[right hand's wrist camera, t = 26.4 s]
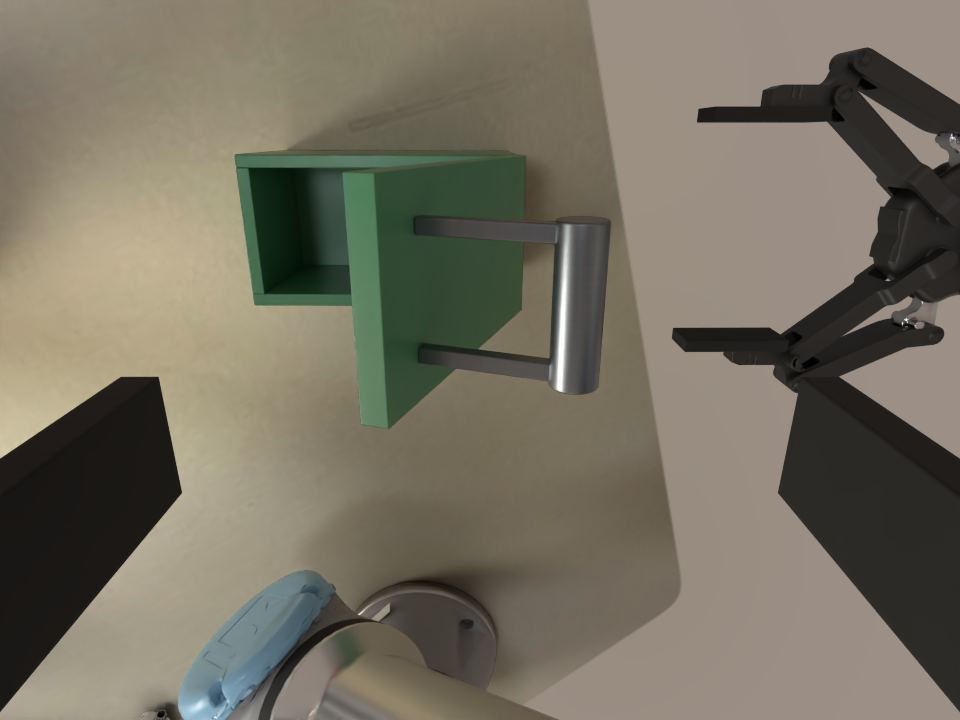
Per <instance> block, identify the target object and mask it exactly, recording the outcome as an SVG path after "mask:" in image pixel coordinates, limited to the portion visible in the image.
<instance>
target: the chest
mask: <svg viewBox="0 0 960 720" xmlns="http://www.w3.org/2000/svg"><path fill="white" fill-rule="evenodd" d="M506 155H513V154H512V153H510V152H509V151H428V150H281V151H269V152H258V153H246V154H236V155H235V162H236V167H237V168H236V171H237V178H238V186H239V193H240V201H241V208H242V216H243V223H244V231H245V238H246V246H247V253H248V261H249V268H250V276H251V283H252V291H253V299H254V305H317V306H352V295H351V281H350V268H349V254H348V241H347V227H346V214H345V201H344V187H343V174H342V173H343V172H346V171H356V170H366V169H376V168H386V167H396V166H406V165H416V164H426V163H436V162H446V161H456V160H466V159H476V158H486V157H496V156H506ZM513 156H515V155H513Z"/></svg>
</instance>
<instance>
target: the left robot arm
mask: <svg viewBox="0 0 960 720" xmlns="http://www.w3.org/2000/svg"><path fill="white" fill-rule="evenodd" d="M829 70H830V71H829V73H828V75H827V77H826V79H825V80H824V81H823V82H822V83H821V84H819V85H779V86H773V87H770V88H768V89H765V90H763V93H762V100H761V106H760V107H709V108H702V109H699V110H698V119H697V122H826V121H827V122H828V123H829V124H830V125H831V126H832V127H833V129H834V130H835V131H836V132H837V133H838V134H839V135H840V136H841V137H842V138H843V140H844V141H845V142H846V143H847V144H848V145H849V146H850V147H851V148H852V150H853V151H854V152H855V153H856V154H857V155H858V156H859V157H860V158H861V159H862V161H863V162H864V163H865V164H866V165H867V166H868V167H869V168H870V169H871V170H872V172H873V173H874V174H875V175H876V176H877V178H876V180H877V182H878V183H879V184H880V185H881V187H882V188H883V189H884V190H885V191H886V192H887V193H888V194H889V195H890V197H891V198H890V199H889V200H888V202H887V203H886V205H885V207H880V210H879V215H878V233H877V235H876V237H875V239H874V241H873V243H872V246H871V251H870V255H869V256H871V257H873V260H874V264H872V265H871V266H870V267H868V268H867V269H865V270H864V271H863V272H861V273H860V274H858V275H857V276H856V277H855V278H854V282H853V283H852V284H851V285H850V286H848V287H847V288H845V289H844V290H843V291H841V292H840V293H838V294H837V295H836V296H834V297H833V298H831V299H830V300H829V301H827V302H826V303H824V304H823V305H822V306H820V307H819V308H817V309H816V310H814V311H813V312H812V313H810V314H809V315H807V316H806V317H805V318H803V319H802V320H801V321H799V322H798V323H796V324H795V325H793V326H792V327H791V328H789V329H788V330H786V331H785V332H783V333H782V334H781V335H780V334H779V333H777V332H775V331H774V330H772V329H771V328H673V334H672V339H673V340H674V341H675V342H676V343H677V344H678V345H679V346H680V347H681V348H682V349H683V350H684V351H685V352H724V353H723V355H724V356H725V357H726V358H727V359H729V360H730V361H731V362H733V363H735V364H738V365H774V366H775V368H774V371H773V375H774V376H775V377H776V378H777V379H778V380H779V381H780V382H782V383H783V384H784V385H785V386H787V387H788V388H789V389H791V390H792V391H793V392H795V393H798V392H799V387H800V382H801V377H839V376H841V375H843V374H846V373H848V372H850V371H853V370H855V369H858V368H860V367H862V366H865V365H867V364H869V363H872V362H874V361H876V360H879V359H881V358H883V357H886V356H888V355H890V354H893V353H895V352H898V351H900V350H902V349H905V348H907V347H917V346H926V345H934V344H937V343H939V342H940V341H941V340H942V339H943V337H944V331H943V329H942V328H940V327H938V326H936V325H934V324H935V317H936V311H937V304H938V302H939V301H942V300H944V299H946V298H948V297H951V296H954V295H960V104H958V103H956V102H955V101H953V100H952V99H950V98H949V97H947V96H945V95H944V94H942V93H941V92H939V91H938V90H936V89H934V88H933V87H931V86H930V85H928V84H926V83H925V82H923V81H922V80H920V79H919V78H917V77H915V76H914V75H912V74H911V73H909V72H908V71H906V70H904V69H903V68H901V67H900V66H898V65H897V64H895V63H893V62H892V61H890V60H889V59H887V58H886V57H884V56H882V55H881V54H879V53H878V52H876V51H874V50H873V49H871V48H862V49H858V50H853V51H849V52H845V53H840V54H837V55H836V56H834V57H833V58H832V59H831V61H830V64H829ZM858 91H859V92H861V93H863V94H864V95H866V96H868V97H869V98H871V99H872V100H874V101H876V102H877V103H879V104H881V105H882V106H884V107H885V108H887V109H889V110H890V111H892V112H894V113H895V114H897V115H898V116H900V117H902V118H903V119H905V120H907V121H908V122H910V123H912V124H913V125H915V126H916V127H918V128H920V129H922V130H924V131H926V132H929V133H933V134H938V135H937V136H936V138H935V141H936V143H939V145H940V147H941V148H943V149H945V150H947V151H948V153H949V161H948V162H946V163H943V164H941V165H939V166H938V167H936V168H935V169H933V170H932V169H931V168H930V167H928V166H927V165H924V164H922V163H921V162H920V161H919V160H918V159H917V158H916V157H915V156H914V155H913V153H912V152H911V151H910V150H909V149H908V148H907V147H906V145H905V144H904V143H903V142H902V141H901V140H900V138H899V137H898V136H897V135H896V134H895V133H894V132H893V130H892V129H891V128H890V127H889V126H888V125H887V124H886V122H885V121H884V120H883V119H882V118H881V117H880V116H879V114H878V113H877V112H876V111H875V110H874V109H873V108H872V106H871V105H870V104H869V103H868V102H867V101H866V100H865V98H864V97H863V96H862V95H861V94H860V93H859V92H858ZM886 279H889V280H891V281H885V280H886ZM908 296H909V297H911V298H913V300H912V303H911V304H910V306H909V307H907V308H906V309H903V310H901V311H895V312H893V313H892V315H891V319H885V320H881V321H878V322H875V323H872V324H870V325H868V326H865V327H863V328H861V329H858V330H856V331H854V332H851V333H849V334H847V335H845V336H843V335H844V334H846V333H847V332H849V331H850V330H852V329H853V328H854V327H856V326H857V325H859V324H860V323H862V322H863V321H865V320H866V319H867V318H869V317H870V316H872V315H873V314H875V313H876V312H878V311H879V310H880V309H882V308H883V307H885V306H887V305H894V304H897V303H899V302H900V301H902V300H903V299H905V298H906V297H908ZM841 336H842V337H841ZM335 591H336V589H335V587H334V585H333V584H328V583H327V582H326V580H325V579H324V578H323V577H322V576H321V575H320V574H319V573H317V572H314V571H310V570H304V571H298V572H295V573H292V574H290V575H287V576H285V577H283V578H281V579H280V580H278V581H276V582H275V583H273V584H271V585H270V586H269V587H267V588H266V589H264V590H263V591H261V592H260V593H259V594H257V595H256V596H255V597H254V598H252V599H251V600H250V601H249V602H248V603H246V604H245V605H244V606H243V607H242V608H241V609H240V610H239V611H237V612H236V613H235V614H234V615H233V616H232V617H231V618H230V619H229V620H228V621H227V622H226V623H225V624H224V625H223V626H222V627H221V628H220V629H219V631H218V632H217V633H216V634H215V635H214V636H213V637H212V638H211V640H210V641H209V642H208V643H207V645H206V646H205V647H204V648H203V650H202V651H201V652H200V654H199V655H198V656H197V658H196V659H195V661H194V663H193V665H192V666H191V667H190V669H189V670H188V672H187V674H186V676H185V678H184V680H183V683H182V685H181V688H180V691H179V696H178V708H179V712H180V714H181V716H182V717H183V719H184V720H558V719H556V718H553V717H550V716H548V715H545V714H543V713H540V712H538V711H535V710H533V709H530V708H528V707H525V706H523V705H520V704H518V703H515V702H513V701H510V700H507V699H505V698H502V697H500V696H497V695H495V694H492V693H490V692H487V691H486V689H487V687H488V684H489V681H490V678H491V676H492V673H493V670H494V666H495V660H496V634H495V629H494V626H493V623H492V621H491V619H490V617H489V615H488V614H487V612H486V611H485V610H484V609H483V608H482V606H481V605H480V604H479V603H477V602H476V601H475V600H474V599H473V598H471V597H470V596H468V595H467V594H465V593H463V592H461V591H459V590H457V589H455V588H452V587H450V586H446V585H443V584H438V583H432V582H407V583H401V584H397V585H393V586H390V587H387V588H385V589H382V590H380V591H378V592H377V593H375V594H373V595H372V596H370V597H369V598H368V599H366V600H365V601H364V602H363V603H362V604H361V605H360V607H359V608H358V609H357V610H356V612H353V611H352V610H351V609H350V608H349V607H348V606H347V605H346V604H345V603H344V602H343V601H342V600H341V599H340V597H339V596H338V595H337V594H336V592H335Z"/></svg>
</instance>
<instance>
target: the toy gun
mask: <svg viewBox="0 0 960 720" xmlns="http://www.w3.org/2000/svg"><path fill="white" fill-rule="evenodd" d="M139 720H170V719H169V718H168V717H167V713H166V711H165V710H162V709H161V710H159V711H158V712H154V711H148V712H144V713H143V714H142V715H141V717H140V718H139Z"/></svg>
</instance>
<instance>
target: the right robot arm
mask: <svg viewBox="0 0 960 720" xmlns="http://www.w3.org/2000/svg"><path fill="white" fill-rule="evenodd" d="M181 493H182V490H181V485H180V480H179V476H178V471H177V466H176V461H175V456H174V451H173V446H172V441H171V436H170V431H169V426H168V421H167V416H166V411H165V407H164V402H163V397H162V392H161V387H160V382H159V377H120V378H119V379H117V380H116V381H114V382H113V383H111V384H110V385H108V386H107V387H105V388H104V389H102V390H101V391H99V392H98V393H96V394H95V395H94V396H92V397H91V398H89V399H88V400H86V401H85V402H83V403H82V404H80V405H79V406H77V407H76V408H74V409H73V410H71V411H70V412H68V413H67V414H65V415H64V416H63V417H61V418H60V419H58V420H57V421H55V422H54V423H52V424H51V425H49V426H48V427H46V428H45V429H43V430H42V431H40V432H39V433H37V434H36V435H34V436H33V437H32V438H30V439H29V440H27V441H26V442H24V443H23V444H21V445H20V446H18V447H17V448H15V449H14V450H12V451H11V452H9V453H8V454H6V455H5V456H3V457H2V458H1V459H0V712H1V710H2V709H3V708H4V707H5V706H6V704H7V703H8V702H9V701H10V700H11V698H12V697H13V696H14V695H15V694H16V692H17V691H18V690H19V689H20V688H21V686H22V685H23V684H24V683H25V681H26V680H27V679H28V678H29V677H30V675H31V674H32V673H33V672H34V671H35V669H36V668H37V667H38V666H39V665H40V663H41V662H42V661H43V660H44V659H45V657H46V656H47V655H48V654H49V653H50V651H51V650H52V649H53V648H54V647H55V645H56V644H57V643H58V642H59V641H60V639H61V638H62V637H63V636H64V634H65V633H66V632H67V631H68V630H69V628H70V627H71V626H72V625H73V624H74V622H75V621H76V620H77V619H78V618H79V616H80V615H81V614H82V613H83V612H84V610H85V609H86V608H87V607H88V606H89V604H90V603H91V602H92V601H93V600H94V598H95V597H96V596H97V595H98V594H99V592H100V591H101V590H102V589H103V587H104V586H105V585H106V584H107V583H108V581H109V580H110V579H111V578H112V577H113V575H114V574H115V573H116V572H117V571H118V569H119V568H120V567H121V566H122V565H123V563H124V562H125V561H126V560H127V559H128V557H129V556H130V555H131V554H132V553H133V551H134V550H135V549H136V548H137V547H138V545H139V544H140V543H141V542H142V540H143V539H144V538H145V537H146V536H147V534H148V533H149V532H150V531H151V530H152V528H153V527H154V526H155V525H156V524H157V522H158V521H159V520H160V519H161V518H162V516H163V515H164V514H165V513H166V512H167V510H168V509H169V508H170V507H171V506H172V504H173V503H174V502H175V501H176V500H177V498H178V497H179V496H180V495H181ZM778 493H779V495H780V496H781V497H782V498H783V500H784V501H785V502H786V503H787V504H788V506H789V507H790V508H791V509H792V510H793V512H794V513H795V514H796V515H797V516H798V518H799V519H800V520H801V521H802V522H803V524H804V525H805V526H806V527H807V528H808V530H809V531H810V532H811V533H812V534H813V536H814V537H815V538H816V539H817V540H818V542H819V543H820V544H821V545H822V547H823V548H824V549H825V550H826V551H827V553H828V554H829V555H830V556H831V557H832V559H833V560H834V561H835V562H836V563H837V565H838V566H839V567H840V568H841V569H842V571H843V572H844V573H845V574H846V575H847V577H848V578H849V579H850V580H851V581H852V583H853V584H854V585H855V586H856V587H857V589H858V590H859V591H860V592H861V594H862V595H863V596H864V597H865V598H866V600H867V601H868V602H869V603H870V604H871V606H872V607H873V608H874V609H875V610H876V612H877V613H878V614H879V615H880V616H881V618H882V619H883V620H884V621H885V622H886V624H887V625H888V626H889V627H890V628H891V630H892V631H893V632H894V633H895V634H896V636H897V637H898V638H899V639H900V641H901V642H902V643H903V644H904V645H905V647H906V648H907V649H908V650H909V651H910V652H911V654H912V655H913V656H914V657H915V659H916V660H917V661H918V662H919V663H920V665H921V666H922V667H923V668H924V669H925V671H926V672H927V673H928V674H929V675H930V677H931V678H932V679H933V680H934V681H935V683H936V684H937V685H938V686H939V688H940V689H941V690H942V691H943V692H944V694H945V695H946V696H947V697H948V698H949V700H950V701H951V702H952V703H953V704H954V706H955V707H956V708H957V709H958V710H959V712H960V459H959V458H958V457H956V456H955V455H954V454H952V453H951V452H949V451H948V450H946V449H945V448H943V447H942V446H940V445H939V444H937V443H936V442H934V441H933V440H931V439H930V438H928V437H927V436H926V435H924V434H923V433H921V432H920V431H918V430H917V429H915V428H914V427H912V426H911V425H909V424H908V423H906V422H905V421H903V420H902V419H900V418H899V417H897V416H896V415H895V414H893V413H892V412H890V411H889V410H887V409H886V408H884V407H883V406H881V405H880V404H878V403H877V402H875V401H874V400H872V399H871V398H869V397H868V396H866V395H865V394H864V393H862V392H861V391H859V390H858V389H856V388H855V387H853V386H852V385H850V384H849V383H847V382H846V381H844V380H843V379H841V378H840V377H801V382H800V387H799V392H798V397H797V402H796V407H795V411H794V417H793V421H792V426H791V431H790V436H789V441H788V446H787V451H786V456H785V461H784V466H783V471H782V476H781V480H780V486H779V490H778Z"/></svg>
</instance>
